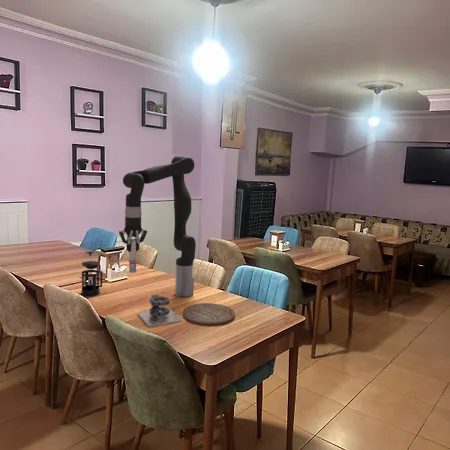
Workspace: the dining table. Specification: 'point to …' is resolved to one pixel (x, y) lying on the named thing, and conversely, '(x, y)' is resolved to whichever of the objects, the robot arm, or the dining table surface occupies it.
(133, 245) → the tube
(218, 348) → the dining table surface
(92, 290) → the french press
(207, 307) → the trivet
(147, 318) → the collar stand
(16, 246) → the dining table surface
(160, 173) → the robot arm
